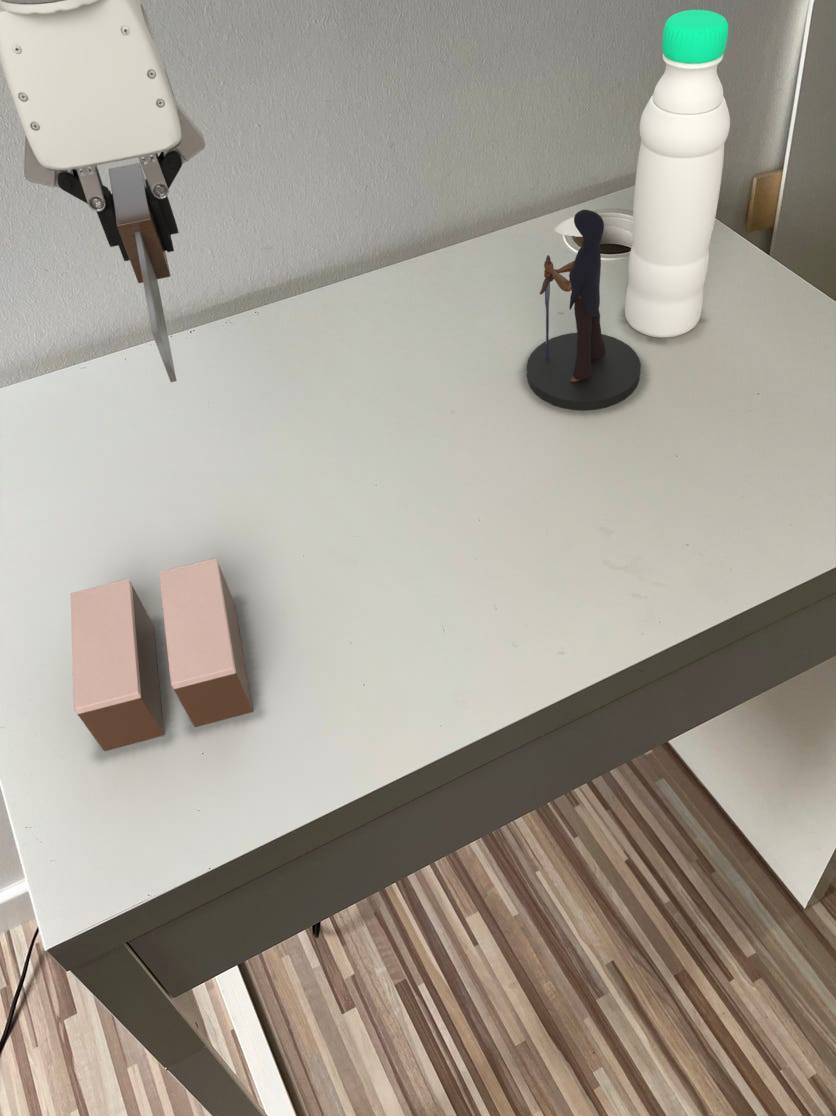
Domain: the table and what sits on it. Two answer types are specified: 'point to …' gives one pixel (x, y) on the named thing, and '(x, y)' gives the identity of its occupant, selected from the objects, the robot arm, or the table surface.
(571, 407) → the figurine
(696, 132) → the water bottle
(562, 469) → the table surface
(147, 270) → the knife
